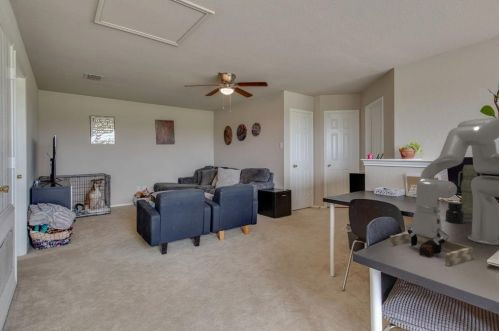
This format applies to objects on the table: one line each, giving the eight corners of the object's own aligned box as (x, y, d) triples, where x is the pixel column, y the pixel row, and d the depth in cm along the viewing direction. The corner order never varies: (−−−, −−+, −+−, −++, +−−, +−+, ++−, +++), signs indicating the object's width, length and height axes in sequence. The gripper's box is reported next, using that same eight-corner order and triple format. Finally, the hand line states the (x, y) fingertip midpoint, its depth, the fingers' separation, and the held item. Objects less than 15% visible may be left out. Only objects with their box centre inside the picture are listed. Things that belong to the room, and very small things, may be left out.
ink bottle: (459, 220, 163) (459, 201, 163) (468, 224, 155) (468, 204, 154) (441, 219, 165) (442, 201, 165) (450, 223, 156) (450, 203, 156)
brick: (428, 249, 115) (428, 239, 115) (439, 252, 112) (439, 241, 111) (418, 255, 108) (419, 244, 108) (429, 258, 105) (429, 247, 105)
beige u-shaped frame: (413, 240, 127) (413, 231, 126) (473, 258, 105) (473, 247, 104) (389, 245, 120) (390, 236, 120) (448, 266, 98) (448, 254, 97)
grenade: (482, 219, 165) (484, 164, 163) (458, 217, 171) (460, 164, 169) (478, 216, 172) (480, 164, 171) (456, 214, 179) (457, 164, 177)
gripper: (454, 213, 104) (453, 255, 105) (412, 205, 120) (411, 241, 121) (443, 215, 101) (442, 258, 102) (401, 206, 117) (400, 244, 117)
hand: (425, 249), depth 111 cm, fingers open, 9 cm apart
